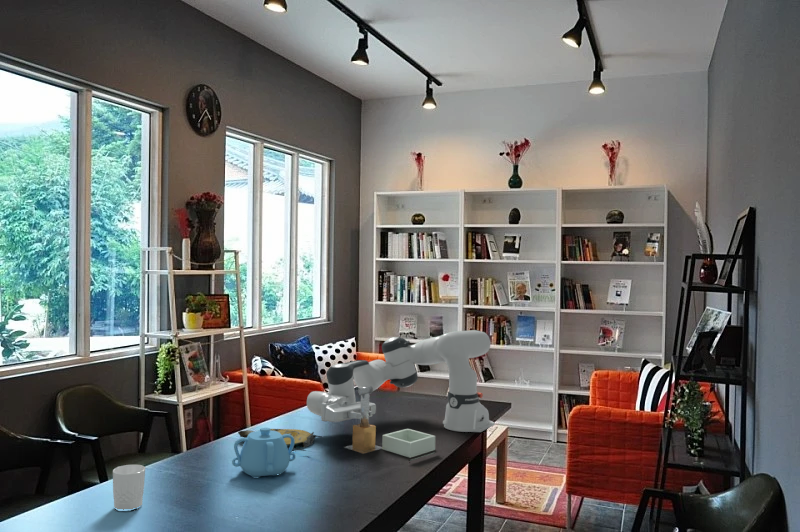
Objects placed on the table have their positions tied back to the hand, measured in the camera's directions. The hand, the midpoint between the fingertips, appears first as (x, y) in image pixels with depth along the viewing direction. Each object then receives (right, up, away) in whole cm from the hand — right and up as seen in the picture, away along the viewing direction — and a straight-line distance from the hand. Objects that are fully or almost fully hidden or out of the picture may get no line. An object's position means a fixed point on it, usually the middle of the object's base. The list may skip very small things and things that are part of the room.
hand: (366, 415), depth 221 cm
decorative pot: (-30, -12, -24) cm, 41 cm away
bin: (+15, -13, 0) cm, 19 cm away
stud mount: (-1, -12, +1) cm, 13 cm away
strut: (-1, -11, +1) cm, 11 cm away
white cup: (-60, -12, -54) cm, 81 cm away
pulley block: (-32, -12, +6) cm, 35 cm away
